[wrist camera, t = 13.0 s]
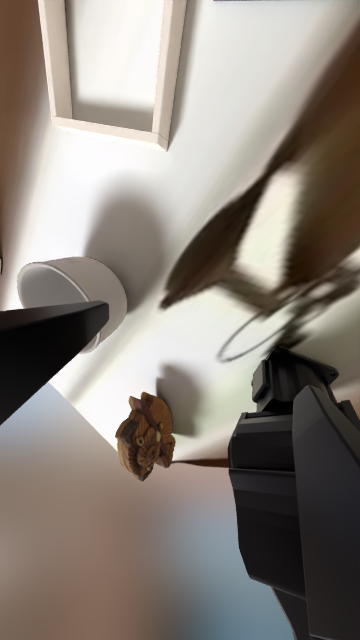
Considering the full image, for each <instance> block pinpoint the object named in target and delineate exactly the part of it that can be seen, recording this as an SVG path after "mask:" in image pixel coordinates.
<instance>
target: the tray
mask: <svg viewBox="0 0 360 640" xmlns="http://www.w3.org/2000/svg"><path fill="white" fill-rule="evenodd" d="M38 3H39V12H40V21H41V30H42V39H43V47H44V56H45V65H46V74H47V82H48V91H49V100H50V109H51V117H52V125H53V126H55V127H57V128H59V129H61V130H63V131H65V132H67V133H70V134H75V135H81V136H86V137H91V138H97V139H102V140H107V141H113V142H118V143H124V144H129V145H134V146H140V147H145V148H150V149H156V150H161V151H167V147H168V139H169V132H170V124H171V117H172V109H173V102H174V94H175V86H176V79H177V71H178V64H179V56H180V49H181V41H182V33H183V26H184V18H185V11H186V3H187V0H164V9H163V19H162V30H161V40H160V51H159V61H158V72H157V83H156V93H155V104H154V114H153V125H152V132H153V133H152V132H146V131H140V130H134V129H128V128H122V127H116V126H109V125H103V124H97V123H91V122H85V121H79V120H73V116H72V102H71V87H70V73H69V59H68V45H67V31H66V17H65V3H64V0H38Z"/></svg>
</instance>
